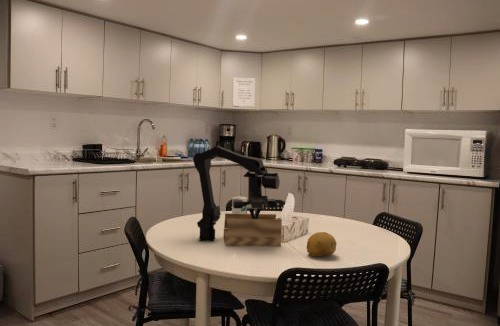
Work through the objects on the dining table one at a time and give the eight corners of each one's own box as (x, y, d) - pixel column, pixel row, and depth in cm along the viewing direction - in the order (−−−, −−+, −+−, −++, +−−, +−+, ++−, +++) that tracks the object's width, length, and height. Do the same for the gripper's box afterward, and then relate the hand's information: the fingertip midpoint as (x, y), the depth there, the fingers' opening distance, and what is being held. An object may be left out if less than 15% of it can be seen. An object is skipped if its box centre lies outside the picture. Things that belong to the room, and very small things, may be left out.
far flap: (224, 228, 200) (224, 227, 200) (274, 228, 203) (274, 228, 203) (225, 214, 196) (225, 213, 197) (276, 214, 199) (276, 213, 200)
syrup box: (240, 226, 223) (241, 198, 221) (231, 224, 226) (232, 196, 225) (246, 224, 227) (247, 197, 226) (238, 222, 231) (239, 195, 230)
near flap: (280, 236, 188) (280, 237, 188) (226, 236, 185) (226, 237, 185) (281, 219, 187) (281, 219, 187) (227, 218, 184) (227, 219, 184)
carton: (225, 246, 186) (226, 237, 185) (223, 237, 200) (223, 228, 200) (280, 246, 189) (281, 237, 188) (274, 237, 203) (274, 228, 203)
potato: (303, 252, 181) (304, 229, 180) (332, 252, 182) (333, 229, 181) (309, 260, 170) (310, 235, 170) (340, 260, 172) (341, 235, 171)
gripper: (235, 191, 176) (235, 228, 178) (280, 190, 179) (279, 227, 180) (232, 186, 187) (232, 222, 189) (274, 186, 190) (274, 220, 191)
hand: (254, 223), depth 187 cm, fingers closed, pressing on near flap
